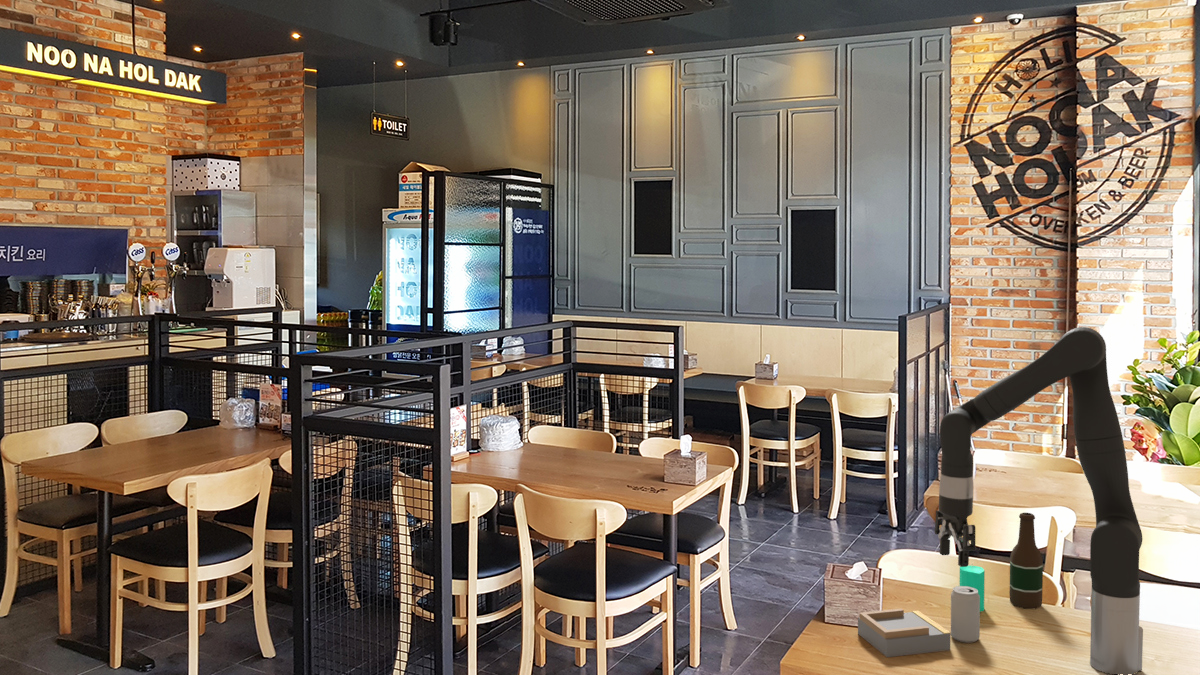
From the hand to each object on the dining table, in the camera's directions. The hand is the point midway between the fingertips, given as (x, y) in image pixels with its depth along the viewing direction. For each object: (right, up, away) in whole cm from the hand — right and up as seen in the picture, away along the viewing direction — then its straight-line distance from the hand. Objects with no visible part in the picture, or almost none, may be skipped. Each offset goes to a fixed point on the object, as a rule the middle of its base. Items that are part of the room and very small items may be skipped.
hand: (953, 560), depth 220 cm
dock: (-12, -19, -1) cm, 23 cm away
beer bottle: (+27, -17, +22) cm, 39 cm away
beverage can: (+3, -19, 0) cm, 19 cm away
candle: (+12, -17, +20) cm, 29 cm away
